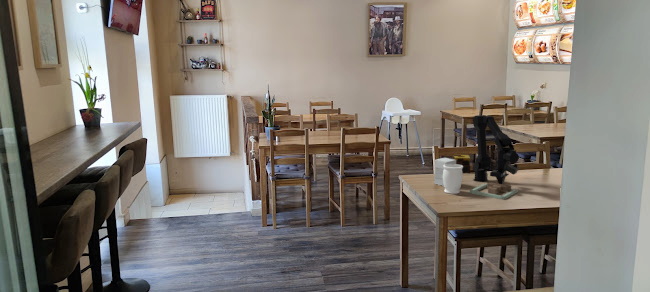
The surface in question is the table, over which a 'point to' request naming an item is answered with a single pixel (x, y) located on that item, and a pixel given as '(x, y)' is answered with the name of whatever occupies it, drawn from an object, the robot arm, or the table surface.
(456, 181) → the jar
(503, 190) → the t block
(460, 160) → the yellow and brown box
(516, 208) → the table surface
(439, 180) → the supplement box
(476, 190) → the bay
